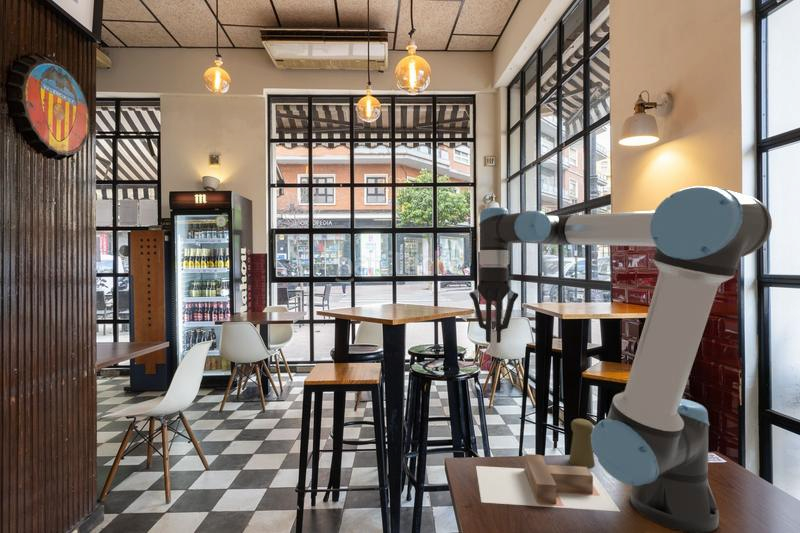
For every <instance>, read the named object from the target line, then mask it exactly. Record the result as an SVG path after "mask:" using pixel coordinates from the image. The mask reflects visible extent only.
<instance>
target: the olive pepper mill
mask: <svg viewBox="0 0 800 533" xmlns="http://www.w3.org/2000/svg"><path fill="white" fill-rule="evenodd" d="M570 426H571V427H570V428H571V431H572V439H571V446H570V453H569V459H568V460H569V463H570V464H571V466H579V467H587V468H588V469H593V468H594V467H596V465H595V458H594V457H595V456H594V455H595V454H594V452H593V448H592V444H591V434H592V430H593V428H594V424H593V423H592V421H590V420H587V419H584V418H576V419H573V420H572V421H571V422H570Z"/></svg>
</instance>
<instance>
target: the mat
mask: <svg viewBox="0 0 800 533" xmlns="http://www.w3.org/2000/svg"><path fill="white" fill-rule="evenodd" d="M475 467H476V468H475V469H476V475H477V482H478V490H479V496H480V502H481V503H483V504H484V503H485V504H498V505H502V504H503V505H515V506H529V507H530V506H531V507H547V508H562V509H574V510H575V509H576V510H590V511H605V512H618V513H619V512H621V510H620V509H619V507H618V506H617V504H616V503H615V502H614V500H613V499H612V498H611V496H610V494H609V493H608V492H607V490H606V489H605V487H604V486H603V485H602V483H601V482H600V480H599V478H597V476H596V475H595V474H594V472H593V471H592V472H591V471H590V472H591V474H592V475H593V494H586V493H570V492H556V504H546V503H537V502H536V499H535V497H534V494H533V492H532V489H531V486H530V484H529V481H528V479H527V476H526V473H525V471H524V468H520V467H501V466H500V467H499V466H482V465H475Z"/></svg>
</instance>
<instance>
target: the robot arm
mask: <svg viewBox="0 0 800 533" xmlns="http://www.w3.org/2000/svg"><path fill="white" fill-rule="evenodd" d="M478 227H479V259H478V260H479V261H478V262H479V265H480V266H481V267H479V268H478V269H479V270H478V271H479V273H478V277H479V278H478V285H477V287H476V289H475V290H473V291H470V292H469V297H470V298H471V299H472V302H473V307H474V309H475V313H476V319H477V322H478V326H479V328H481V329H483V330H485V341H486V343H487V344H488V343H489V355H490V356H492V357H497V352H498V351H497V343H498V344H500V343H501V341H502V330H505V329H508V328H509V324H510V320H511V317H512V313H513V308H514V305H515V302H516V301H517V299H518V297H519V293H517V292H515V291H513V290H512V289H511V287H510V285H509V269H508V267H507V266H508V265H509V244H510V245H511V244H541V245H542V244H543V245H545V244H546V245H557V246H568V245H577V246H579V245H581V246H584V245H585V246H616V247H617V246H621V247H624V246H625V247H656V248H655V249H654V250H655V251H654V254H653V258H652V262H653V263H654V265H655V266H656V268H657V269H658V276H657V281H656V284H655V287H654V290H653V294H652V297H651V300H650V305H649V307H648V310H647V315H646V318H645V322H644V325H643V328H642V331H641V335H640V338H639V342H638V345H637V349H636V351H635V355H634V359H633V361H632V365H631V368H630V371H629V374H628V379H627V383H626V386H625V388H624V391H623V392H619V393H616V394H615V395H614V396H613V398H612V400H611V403H610V407H609V411H608V414H607V418H604V419H602V420H601V419H600V420H599V421H598V423H596V424H595V425H594V426H593V430H592V434H591V444H592V448H593V455H595V456H596V458H597V461H598V463H599V465H600V466H601V467H602V468H603V469H604V470H605V472H606V473H607V474H608V475H609V476H611V477H612V478H613V479H615V480H617V481H618V482H620V483H622V484H625V485H627V486H628V485H629V486H631V487H630V503H631V505H632V507H634V509H635V510H636V511H637V512H639V513H640V514H641V515H642V516H643V517H644V518H647V519H648V520H650V521H652V522H654V523H657V524H659V525H661V526H664V527H666V528H669V529H671V530H676V531H680V532H684V533H685V532H686V533H710V532H713V531H715V530H717V529H718V527H719V521H720V519H719V518H720V517H719V515H720V512H719V510H718V506H717V504H716V500H715V497H714V495H713V492H712V489H711V487H710V484H709V477H708V476H709V427H710V422H709V414H708V410H707V408H706V407H705V406H704V405H702V404H700V403H699V402H695V401H693V400H689V399H685V398H683V395H684V392H685V390H686V386H687V383H688V380H689V377H690V373H691V371H692V368H693V364H694V362H695V358H696V356H697V353H698V349H699V346H700V345H701V344H700V343H701V341H702V338H703V334H704V331H705V328H706V325H707V323H708V319H709V316H710V313H711V310H712V307H713V304H714V301H715V297H716V295H717V291H718V289H719V287H720V285H721V284H722V283H726V282H727V281H729V280H731V279H733V278H734V277H735V274H736V272H737V269H738V266H739V264H740V260H741V258H743V257H745V256H748V255H751V254H752V253H754V252H756V251H757V250H759V249H760V248H761V247H762V246H763V245H764V244H765V243H766V242H767V241H768V238H769V237H770V235H771V232H772V228H773V220H772V216H771V214H770V212H769V210H768V208H767V207H766V205H764V203H763V202H761V201H760V200H759V199H757V198H755V197H753V196H751V195H748V194H743V193H739V192H735V191H732V190H729V189H725V188H721V187H716V186H690V187H686V188H683V189H680V190H677V191H675V192H674V193H672V194H670V195H668V196H667V197H666V198H664V199H663V200H662V201H661V202H660V204H658V205H657V207H656V209H655V210H650V211H649V210H647V211H646V210H645V211H630V212H629V211H627V212H626V211H625V212H611V213H609V212H608V213H607V212H606V213H604V212H603V213H590V214H589V213H587V214H586V213H585V214H583V213H582V214H565V215H554V214H547V213H545V212H544V211H541V210H526V211H523V212H521V211H520V212H516V213H509V210H508V208H506V207H486V208H483V209H482V210H481V211H480V212H479V223H478ZM479 294H480V295H481V297H482V298H483V300H485V322H484V319H483V316H482V311H481V305H480V302H479V299H478V298H479V297H480V296H479ZM506 297H508V298H509V299H508V301H507V305H506V307H505V313H504V316H503V320H502V302H503V300H504V299H505V298H506ZM492 302H494V304H495V310H494V311H495V321H494V322H495V324H494V325H495V327H494V328H495V329H492Z"/></svg>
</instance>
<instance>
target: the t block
mask: <svg viewBox="0 0 800 533" xmlns="http://www.w3.org/2000/svg"><path fill="white" fill-rule="evenodd" d="M523 455H524V460H523V461H524V464H523V465H524V467H523V469H524V471H525V473H526V476H527V479H528V481H529V484H530V486H531V489H532V492H533V494H534V497H535V499H536V502H537V503H546V504H556V492H570V493H586V494H593V475H592V474H591V471H590V470H589V468H587V467H579V466H574V465H558V464H557V465H555V464H546V461H545V460H544V457H543V455H542V454H534V453H533V454H532V453H531V454H530V453H524V454H523Z"/></svg>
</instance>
